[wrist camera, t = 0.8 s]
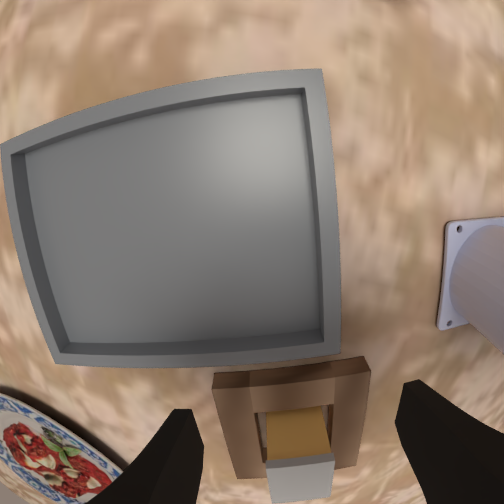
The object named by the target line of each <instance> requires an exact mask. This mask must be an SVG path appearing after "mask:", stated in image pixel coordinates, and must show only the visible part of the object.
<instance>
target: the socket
mask: <svg viewBox="0 0 504 504" xmlns="http://www.w3.org/2000/svg"><path fill="white" fill-rule="evenodd" d="M370 376H371V370H370V368H369V366H368V364H367V362H366V360H365V358H364V356H362V357H356V358H351V359H345V360H338V361H332V362H325V363H318V364H310V365H303V366H294V367H286V368H276V369H266V370H254V371H241V372H226V373H215V374H214V379H213V385H212V393H213V396H214V400H215V404H216V408H217V412H218V415H219V419H220V423H221V426H222V430H223V433H224V437H225V440H226V444H227V447H228V450H229V454H230V457H231V461H232V464H233V467H234V470H235V473H236V477H237V479H252V478H267V473H266V460H267V448H262V442H261V436H260V430H259V424H258V418H257V413H259V412H271V411H282V410H291V409H299V408H307V407H315V406H322V405H328V404H329V411H328V431H327V435H328V439H329V444H330V448H331V453H334V458H335V466H334V470H335V469H341V468H346V467H351V466H356V463H357V458H358V453H359V448H360V443H361V437H362V432H363V426H364V420H365V413H366V406H367V399H368V392H369V384H370Z"/></svg>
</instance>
